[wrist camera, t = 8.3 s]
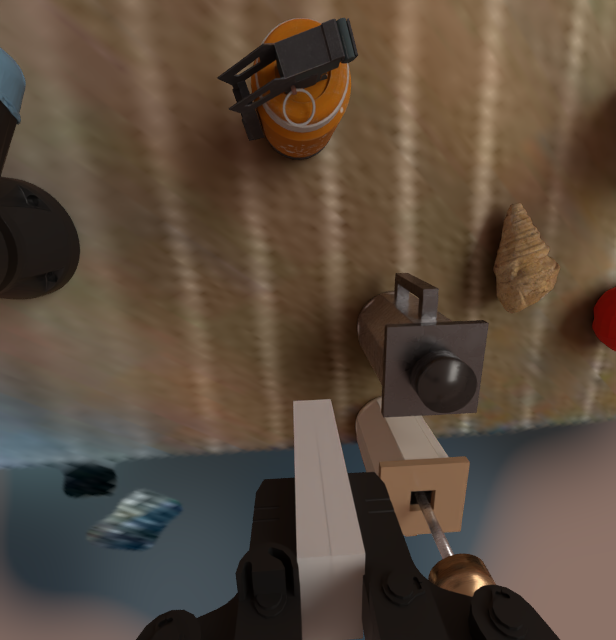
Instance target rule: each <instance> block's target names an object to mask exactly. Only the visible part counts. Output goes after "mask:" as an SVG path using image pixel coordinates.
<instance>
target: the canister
mask: <svg viewBox="0 0 616 640" xmlns="http://www.w3.org/2000/svg"><path fill="white" fill-rule="evenodd" d="M357 56H358V53H357V49H356V45H355V41H354V37H353V33H352V29H351V25H350V21H349V18H348V19H347V21H346V19H345V18H341V19H339V20H337V21H336V19H332V20H329V21H326V22H324V23H322V24H321V23H320V22H318V21H315V20H312V19H306V18H296V19H291V20H287V21H285V22H283V23H281V24H279V25H278V26H276V27H275V28H274V29H273V30H272V31H271V32H270V33H269V34H268V35H267V36H266V38H265V39H264V41H263V42H262V44H261V46H259V47H258V48H257V49H255V50H254V51H253V52H251V53H250V54H248V55H247V56H246V57H244V58H243V59H242V60H240V61H239V62H238V63H236V64H235V65H234V66H232V67H231V68H230V69H228V70H227V71H226V72H224V73H223V74H221V75H220V76H219V77H217V78H218V79H219V80H222V81H224V82H226V83H228V84H231V85H232V86H233V88H234V89H233V93H234V96H235V99H236V101H237V103H236V104H235V105H233V106H232V107H230V108H229V110H232V111H235V112H238V113H241V115H242V122H243V125H244V127H245V130H246V133H247V136H248V139H249V141H251V140H256V139H260V138H264V135H263V132H262V129H261V126H260V123H259V120H258V117H257V114H256V111H255V108H256V109H257V112H258V115H259V119H260V122H261V125H262V128H263V131H264V134H265V136H266V139H267V140H268V142H269V144H270V145H271V146H272V147H273V148H274V149H275V150H276V151H277V152H278V153H280V154H281V155H283V156H285V157H287V158H291V159H298V160H300V159H307V158H310V157H312V156H314V155H316V154H318V153H319V152H320V151H321V150H322V149H323V148H324V147H325V146H326V145H327V143H328V142H329V140H330V138H331V136H332V134H333V133H334V131H335V129H336V127H337V125H338V124H339V122H340V120H341V118H342V116H343V114H344V113H345V111H346V108H347V105H348V103H349V98H350V93H351V76H350V70H349V65H348V63H349V62H351V61H353V60H354V59H355V58H356V57H357ZM254 60H255V61H254ZM253 61H254V65H253V66H252V67H251V68H249V69H247V70H246V71H244V72H243V73H241V74H239V75H235V74H237V73H238V72H239V71H241V70H242V69H243V68H245V67H246V66H247V65H249V64H250V63H252V62H253ZM249 77H251V88H252V94H249V91H248V88H247V85H246V82H245V80H246V79H248V78H249ZM253 100H254V102H252V101H253Z"/></svg>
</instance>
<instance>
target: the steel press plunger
mask: <svg viewBox="0 0 616 640" xmlns="http://www.w3.org/2000/svg"><path fill="white" fill-rule="evenodd" d="M411 385H412V387H413V389H414V391H415V392H416V394H417V395H418V396H419V398H420V399H421V401H422V402H423V403H424V405H425V406H426V407H427V408H429V409H430V410H432V411H434V412H437V413H451V412H454V411H457V410H459V409H461V408H463V407H464V406H465V405H467V404H468V403H469V402H470V400H471V399H472V398H473V396H474V394H475V392H476V388H477V378H476V375H475V373H474V371H473V370H472V369H471V368H470V367H469V366H468V365H467V364H466V363H465V362H463V361H462V360H461V359H460V358H459V357H457V356H456V355H455V354H453V353H451V352H449V351H443V350H439V351H433V352H430V353H428V354H426V355H424V356H423V357H421V358H420V359H419V360H418V361H417V362H416V364H415V365H414V367H413V369H412V372H411Z"/></svg>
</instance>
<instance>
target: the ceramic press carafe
mask: <svg viewBox="0 0 616 640" xmlns="http://www.w3.org/2000/svg"><path fill="white" fill-rule="evenodd" d="M381 403H382V396H380V397H377V398H375V399H373V400H371V401H369V402H368V403H367V404H365V405H364V406H363V407H362V409H361V410H360V411H359V413H358V415H357V418H356V422H355V429H356V433H357V442H358V445H359V449H360V452H361V455H362V459H363V462H364V466H365V469H366V472H375V473H376V474H377V475H378V476H379V478H380V479H381V480H382V481H383V482H384V483H385V485H386V488H387V491H388V494H389V496H390V500H391V502H392V505H393V508H394V512H395V513H396V516H397V519H398V522H399V525H400V527H401V530H402V533H403V535H405V536H417V534H428V533H431V531H430V529H429V527H428V524H427V522H426V520H425V518H424V515H423V513H422V511H421V509H420V506H419V504H418V502H417V500H414V501H410V498H411V491H427V490H432V492H431V493H430V494H428V495H427V496H426V498H427V500H428V502H429V504H430V506H431V508H432V510H433V512H434V514H435V516H436V518H437V520H438V522H439V525H440V527H441V529H442V531H443V533H444V532H459V531H461V523H462V516H463V507H464V500H465V493H466V486H467V478H468V471H469V463H470V462H469V461H468V459H467V458H466V457H448V456H447V454H446V453H445V451H444V450H443V448H442V447H441V445H440V444H439V442H438V441H437V439H436V437H435V436H434V434H433V433H432V431H431V430H430V428H429V427H428V425H427V424H426V422H425V421H424V419H423V418H422V416H404V417H385V418H383V416H382V413H381Z"/></svg>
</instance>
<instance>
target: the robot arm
mask: <svg viewBox="0 0 616 640" xmlns="http://www.w3.org/2000/svg"><path fill="white" fill-rule="evenodd" d="M24 91H25V78H24V75H23V73H22V71H21V69H20V67H19V66H18V64H17V63H16V62H15V60H14V59H13V58H12V57H11V56H10V55H9V54H7V53H6V52H5V51H4V50H3V49H1V48H0V298H6V299H31V298H36V297H40V296H43V295H46V294H49V293H52V292H54V291H56V290H58V289H60V288H61V287H63V286H64V285H65V284H66V283H67V282H68V281H69V280H70V279H71V277H72V276H73V274H74V272H75V270H76V268H77V265H78V261H79V255H80V246H79V239H78V235H77V231H76V229H75V226H74V224H73V222H72V220H71V218H70V216H69V215H68V213H67V212H66V211H65V209H64V208H63V207H62V206H61V204H60V203H59V202H58V201H57V200H56V199H54V198H53V197H52V196H51V195H50V194H48V193H47V192H46V191H44V190H43V189H41V188H39V187H37V186H35V185H33V184H31V183H28V182H26V181H23V180H19V179H13V178H6V177H1V173H2V170H3V167H4V163H5V160H6V157H7V153H8V150H9V147H10V143H11V140H12V137H13V133H14V130H15V127H16V124H20V122H21V118H20V114H19V112H20V108H21V104H22V100H23V95H24ZM293 412H294V454H295V478H281V479H265V480H264V481H263V482H262V484H261V485H260V487H259V489H258V490H257V492H256V498H255V506H254V516H253V524H252V532H251V541H250V549H249V551H248V552H247V553H246V554H245V555H244V557H243V558H242V559H241V560H240V562H239V565H238V568H237V571H236V580H237V589H238V593H237V594H236V595H235V597H234V598H232V599H231V600H230V601H229V602H228V603H227V604H225V605H223V606H222V607H220V608H218V609H217V610H214V611H212V612H209V613H207V614H205V615H203V616H200V617H198V618H196V617H195V616H194V615H193V614H191V613H189V612H187V611H185V610H171V611H169V612H166V613H164V614H162V615H159V616H158V617H157V618H155V619H154V620H153V621H152V622H150V623H149V624H148V625H147V626H146V627H145V628H144V630H143V631H142V632H141V634H140V635H139V636H138V638H137V639H136V640H349V639H361V638H363V630H364V635H365V640H560V639H559V638H558V637H557V635H556V634H555V633H554V632H553V631H552V630H551V628H550V627H549V626H548V625H547V624H546V622H545V621H544V620H543V619H542V618H541V617H540V615H539V614H538V613H537V612H536V611H535V610H534V608H533V607H532V606H531V605H530V604H529V603H528V602H526V601H525V600H524V599H523V598H522V597H521V596H520V595H518V594H517V593H515V592H513V591H511V590H510V589H508V588H506V587H502V586H498V585H494V584H492V585H484V586H481V587H480V588H479V589H477V590H476V591H475V592H474V595H473V597H471V596H468V595H464V594H460V593H456V592H453V591H449V590H446V589H443V588H441V587H438V586H436V585H435V584H433V583H432V582H430V581H429V580H427V579H426V578H425V577H424V576H423V575H422V574H421V573H420V572H419V570H418V569H417V568H416V566H415V565H414V563H413V561H412V559H411V556H410V553H409V550H408V547H407V544H406V542H405V539H404V536H403V533H402V530H401V527H400V525H399V522H398V519H397V516H396V513H395V512H394V508H393V505H392V502H391V500H390V496H389V494H388V491H387V488H386V485H385V483H384V482H383V481H382V480H381V479H380V478H379V476H378V475H377V474H376V473H375V472H365V473H364V472H362V473H347V470H346V465H345V461H344V456H343V452H342V447H341V443H340V438H339V434H338V430H337V425H336V421H335V416H334V412H333V407H332V403H331V399H325V400H306V401H293Z"/></svg>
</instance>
